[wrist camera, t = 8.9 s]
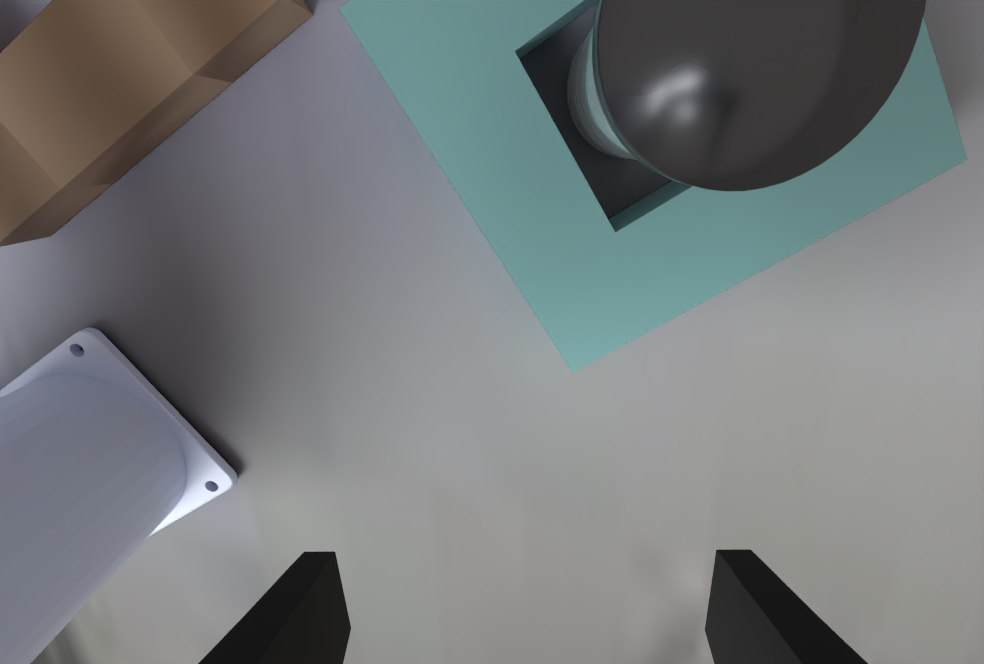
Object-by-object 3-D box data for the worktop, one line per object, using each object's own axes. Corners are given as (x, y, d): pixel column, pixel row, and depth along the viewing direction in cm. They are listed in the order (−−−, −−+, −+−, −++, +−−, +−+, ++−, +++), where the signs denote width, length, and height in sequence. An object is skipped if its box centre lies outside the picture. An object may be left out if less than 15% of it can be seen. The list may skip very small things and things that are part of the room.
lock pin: (607, 197, 16) (689, 246, 8) (527, 66, 15) (540, -13, 7) (741, 106, 15) (972, 69, 7) (667, -44, 14) (853, -273, 6)
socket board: (566, 348, 18) (572, 372, 16) (361, 26, 14) (338, 8, 13) (911, 157, 15) (967, 159, 13) (756, -295, 12) (802, -379, 10)
